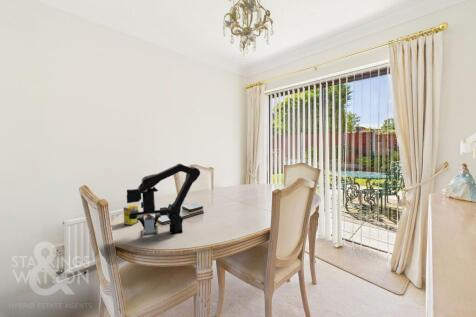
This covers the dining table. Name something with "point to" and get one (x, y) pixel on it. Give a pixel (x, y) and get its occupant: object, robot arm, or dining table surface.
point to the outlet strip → (148, 234)
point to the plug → (149, 224)
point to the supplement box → (126, 215)
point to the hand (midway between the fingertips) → (149, 228)
